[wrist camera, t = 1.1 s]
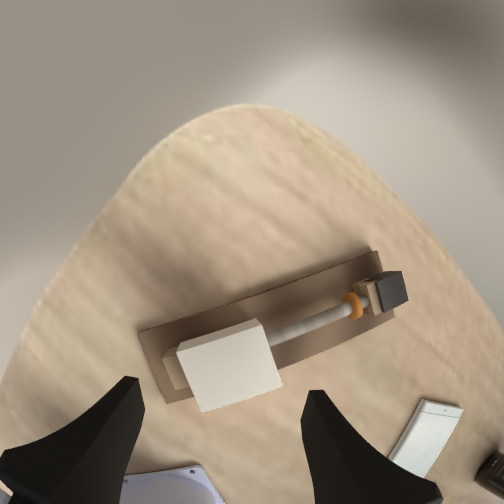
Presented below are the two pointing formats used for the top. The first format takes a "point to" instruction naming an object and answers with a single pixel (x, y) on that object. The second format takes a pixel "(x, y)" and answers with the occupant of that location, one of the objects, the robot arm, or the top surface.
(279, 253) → the top surface
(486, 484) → the supplement bottle
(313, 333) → the cord rail
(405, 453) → the hard drive
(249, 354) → the white rounded cube
